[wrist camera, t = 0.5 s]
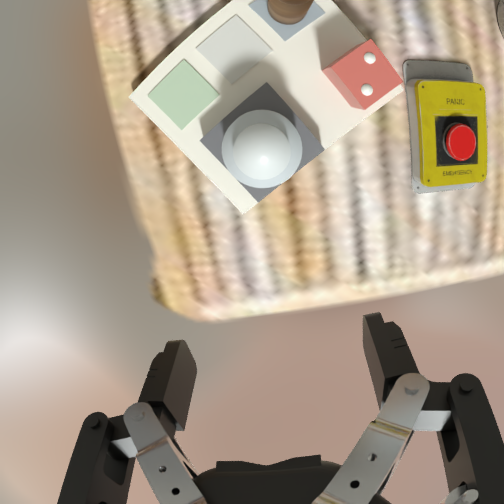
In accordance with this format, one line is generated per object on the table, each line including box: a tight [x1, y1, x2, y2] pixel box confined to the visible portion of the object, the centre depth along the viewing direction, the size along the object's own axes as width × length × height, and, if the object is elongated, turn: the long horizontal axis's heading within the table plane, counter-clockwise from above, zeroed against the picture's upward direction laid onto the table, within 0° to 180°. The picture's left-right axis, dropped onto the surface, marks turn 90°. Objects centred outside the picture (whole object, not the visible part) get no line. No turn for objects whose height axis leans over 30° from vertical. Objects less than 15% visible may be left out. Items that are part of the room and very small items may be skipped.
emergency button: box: [403, 60, 487, 194], centre depth 27 cm, size 9×4×15 cm
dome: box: [222, 110, 302, 188], centre depth 26 cm, size 6×6×4 cm
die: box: [321, 39, 403, 110], centre depth 24 cm, size 4×4×5 cm
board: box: [129, 0, 404, 214], centre depth 27 cm, size 21×17×4 cm
